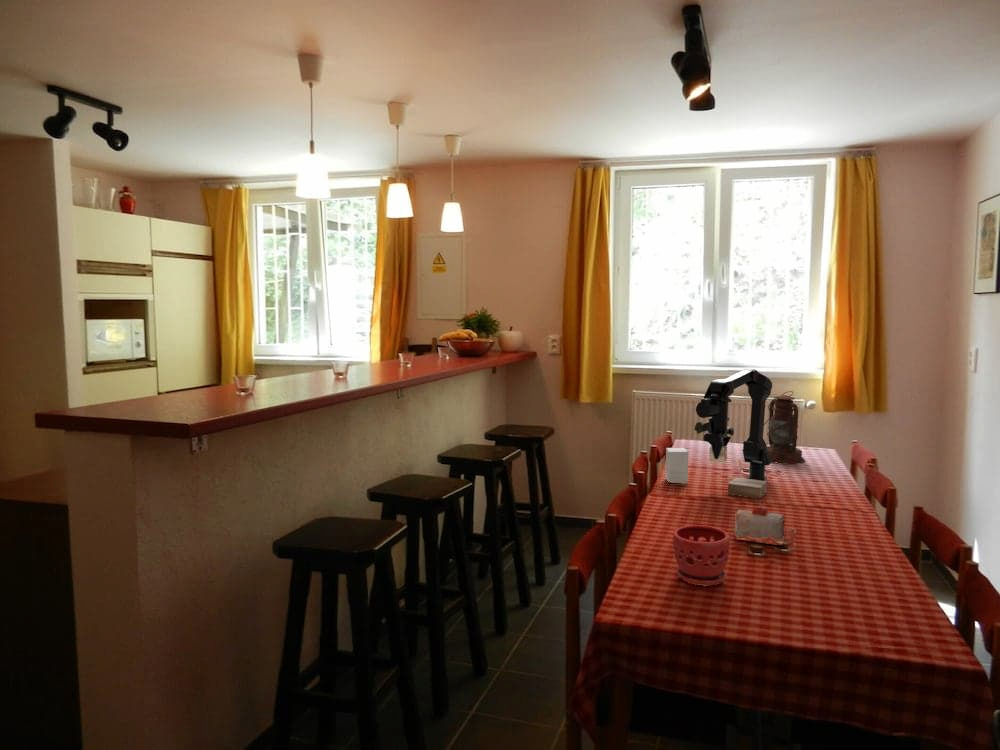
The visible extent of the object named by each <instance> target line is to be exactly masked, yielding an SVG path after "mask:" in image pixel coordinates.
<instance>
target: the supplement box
mask: <svg viewBox="0 0 1000 750" xmlns="http://www.w3.org/2000/svg"><path fill="white" fill-rule="evenodd" d="M688 474H689V451H688V450H687V449H686V447H685V448H684V447H683V448H682V447H666V448H665V480H666V479H667V481H668V482H672V483H688V479H689V475H688ZM667 481H666V482H667ZM668 482H667V483H668Z"/></svg>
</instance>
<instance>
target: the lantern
mask: <svg viewBox="0 0 1000 750" xmlns="http://www.w3.org/2000/svg"><path fill="white" fill-rule="evenodd" d="M786 393H791V394H790V395H786ZM793 395H794V392H793V391H791V390H790V391H786V392H783V393H782V394H781V395H777V396H773V399H772V400H771V401H770V402H769V404H768V406H769V407H768V413H769V414H768V415H769V416H768V419H767V420H766V421H764V426H765V425H766V424H767V425H768V426H767V428H768V432H767V433H766V436H767V437H768V444H769V445H767V452H768V454H769V456H770V457H771V459H772V460H771V462H777V463H776V464H778V463H787V464H786V465H797V464H796V463H801V464H804V463H805V462H806V460H805V458H804V457H802V456H803V451H802V450H801V449H800V448H797V441H798V428H799V407H798V405H797V404H796V403H795V402H794V400H796V397H792V396H793ZM803 462H804V463H803Z"/></svg>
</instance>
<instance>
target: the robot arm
mask: <svg viewBox="0 0 1000 750" xmlns="http://www.w3.org/2000/svg"><path fill="white" fill-rule="evenodd" d="M744 385H745V386H746V387H747V393H748V396H750V399H751V410H750V423H749V434H748V435H749V436H748V438H747V439H746V440H744V441H743V443H742V444H743V445H742V455H743V461H744V462H745V463H749V472H748V473H749V474H748V475H747V476H746V479H747V478H748V479H754V480H761V481H764V480H765V481H766V480H767V478H768V476H766V466H770V465H771V460H772V459H771V457H770V456H769V454H768V452H767V446H768V445H767V442H766V441H765V439H764V430H765V429H764V428H765V425H764V424H765V415H766V413H765V412H766V401H767V400H768V398H769V397H770V395H771V392H772V388H773V382H772V381H771V379H770V378H769V377H767V376H766V375H764V374H762V373H760V372H759V371H758V370H757V369H754V368H743V369H742V370H741V371H739V372H737V373H735V374H732V375H731V376H728V377H727V378H718V379H713V380H712V381H710V383H709V385H708V387H707V388H706V392H705V394H704V396H703V398H700V402H698V403H697V404H696V407H695V413H696V414H697V416H698V417H699V418H701V419H705V418H708V421H703V422H702V421H697V422H695V425H694V431H696V434H697V435H699V434H702V433H704V432H706V433H705V434H703V438H702V440H703V442H706V443H708V444H709V445H710V447H712V450H713V454H714V458H715V459H718V457H719V455H720V452H721V450H722V447H723V446H727V447H728V444H729V442H730V440H731V439H732V436H734V432H735V429H734V428H733V427H732V426H729V425H728V424H729V423H728V422H729V421H730V417H728V416H729V403H732V401H733V400H732V399H731V398H730V396H732V395H733V394H734V392H735V390H736V389H738V388H739V387H742V386H744ZM728 435H729V436H728Z"/></svg>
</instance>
